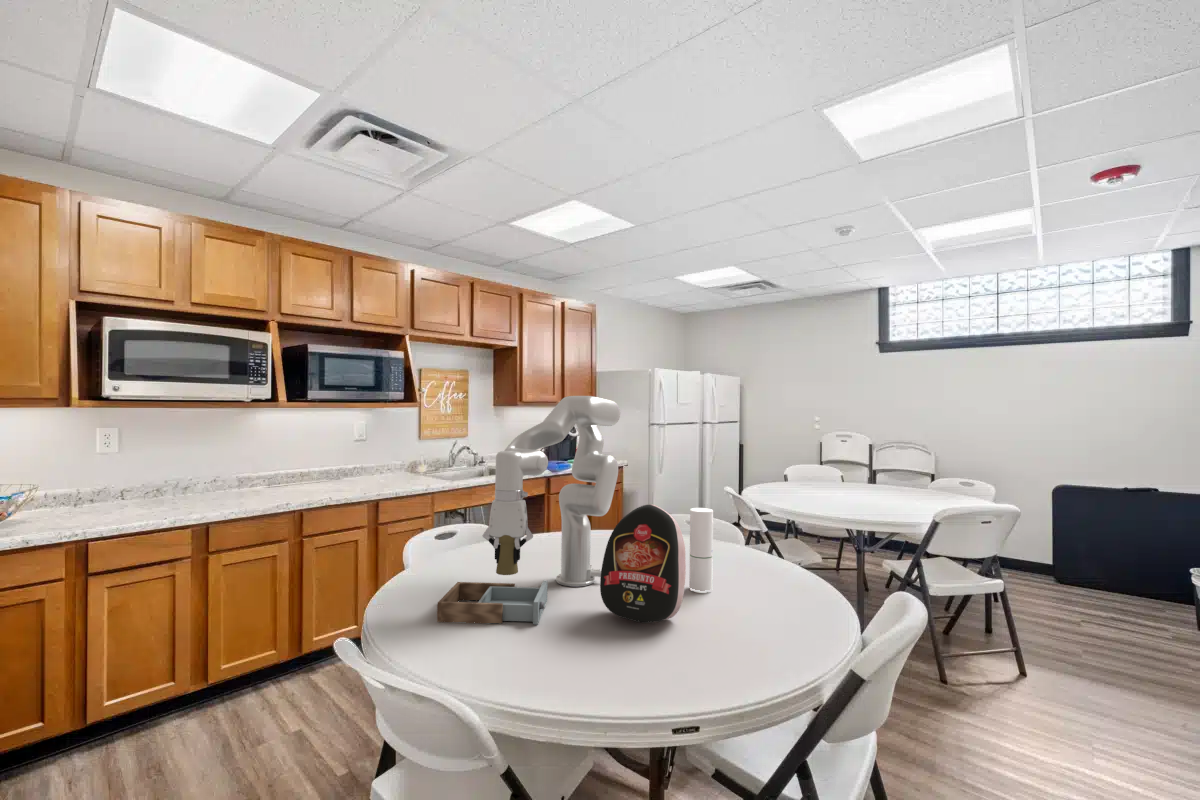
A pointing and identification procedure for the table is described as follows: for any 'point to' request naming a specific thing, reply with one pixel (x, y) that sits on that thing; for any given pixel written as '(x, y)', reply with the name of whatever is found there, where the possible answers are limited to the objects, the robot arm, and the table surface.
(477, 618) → the frame
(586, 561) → the robot arm
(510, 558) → the cork
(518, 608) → the tray
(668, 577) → the packaged food
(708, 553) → the cylindrical container
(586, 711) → the table surface
